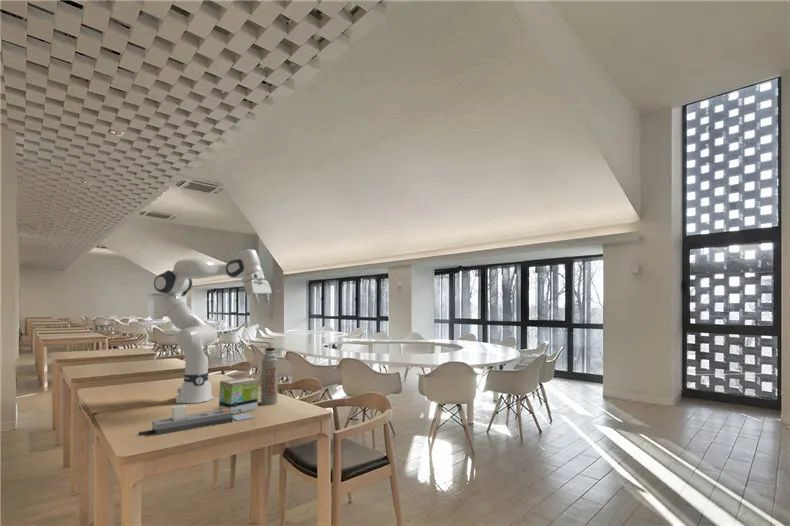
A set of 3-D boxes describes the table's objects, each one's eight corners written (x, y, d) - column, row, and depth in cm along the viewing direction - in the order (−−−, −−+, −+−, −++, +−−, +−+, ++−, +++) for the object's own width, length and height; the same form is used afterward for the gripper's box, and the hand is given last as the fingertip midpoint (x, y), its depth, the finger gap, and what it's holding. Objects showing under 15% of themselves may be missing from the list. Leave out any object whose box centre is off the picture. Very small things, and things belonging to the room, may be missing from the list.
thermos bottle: (277, 404, 230) (278, 348, 233) (260, 405, 228) (262, 349, 230) (277, 400, 238) (277, 347, 240) (261, 401, 236) (262, 347, 238)
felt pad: (230, 417, 205) (230, 416, 205) (248, 414, 210) (248, 413, 210) (237, 421, 199) (237, 420, 199) (254, 418, 204) (254, 417, 204)
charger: (171, 423, 188) (172, 405, 189) (182, 421, 191) (183, 404, 192) (174, 425, 185) (174, 407, 185) (185, 423, 188) (186, 406, 188)
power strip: (136, 432, 182) (137, 420, 182) (226, 418, 204) (226, 407, 204) (140, 437, 176) (140, 425, 176) (232, 421, 198) (232, 410, 198)
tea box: (230, 415, 208) (231, 383, 209) (218, 412, 214) (219, 380, 215) (258, 409, 220) (258, 378, 221) (245, 406, 226) (246, 376, 227)
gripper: (260, 280, 247) (267, 304, 245) (239, 279, 227) (247, 305, 225) (270, 276, 246) (277, 300, 244) (250, 275, 226) (258, 301, 224)
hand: (262, 303), depth 234 cm, fingers open, 8 cm apart
